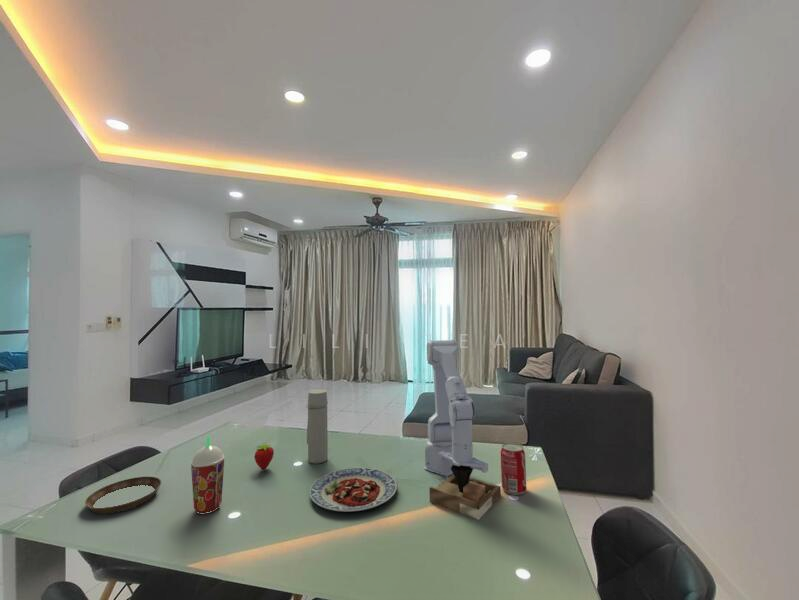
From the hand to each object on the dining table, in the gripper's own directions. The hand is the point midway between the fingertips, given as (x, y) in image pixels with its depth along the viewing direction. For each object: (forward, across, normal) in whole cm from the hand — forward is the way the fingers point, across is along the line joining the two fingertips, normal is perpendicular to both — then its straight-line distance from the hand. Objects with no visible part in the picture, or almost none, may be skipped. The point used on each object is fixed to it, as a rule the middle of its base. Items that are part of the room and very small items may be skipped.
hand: (463, 491), depth 101 cm
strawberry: (+3, -65, -21) cm, 68 cm away
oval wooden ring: (+4, -81, -56) cm, 99 cm away
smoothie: (+3, -56, -44) cm, 71 cm away
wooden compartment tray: (+3, 0, +2) cm, 4 cm away
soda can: (+3, +9, +15) cm, 18 cm away
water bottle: (+3, -57, -5) cm, 57 cm away
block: (+1, +4, 0) cm, 4 cm away
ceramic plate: (+4, -29, -14) cm, 32 cm away
